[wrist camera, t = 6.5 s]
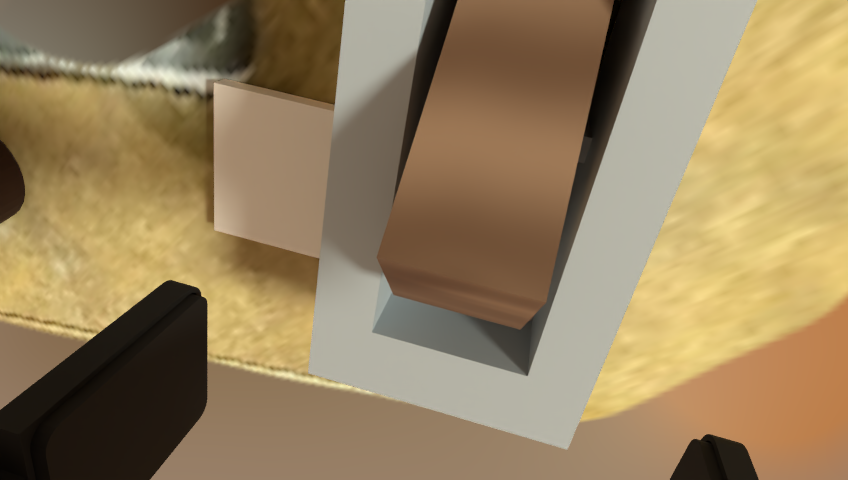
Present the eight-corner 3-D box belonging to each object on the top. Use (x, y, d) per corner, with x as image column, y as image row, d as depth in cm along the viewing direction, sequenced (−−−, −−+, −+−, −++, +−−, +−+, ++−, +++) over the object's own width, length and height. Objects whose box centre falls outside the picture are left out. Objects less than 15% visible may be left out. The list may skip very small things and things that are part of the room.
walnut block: (492, -33, 23) (504, -149, 18) (599, -11, 22) (641, -125, 18) (393, 294, 19) (376, 257, 14) (520, 329, 19) (545, 302, 14)
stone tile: (224, 78, 28) (213, 82, 27) (380, 115, 27) (374, 121, 26) (223, 222, 31) (214, 230, 30) (360, 259, 30) (354, 268, 30)
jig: (442, -228, 20) (377, -329, 13) (752, -177, 19) (866, -258, 12) (367, 277, 31) (308, 373, 24) (565, 331, 30) (567, 449, 22)
